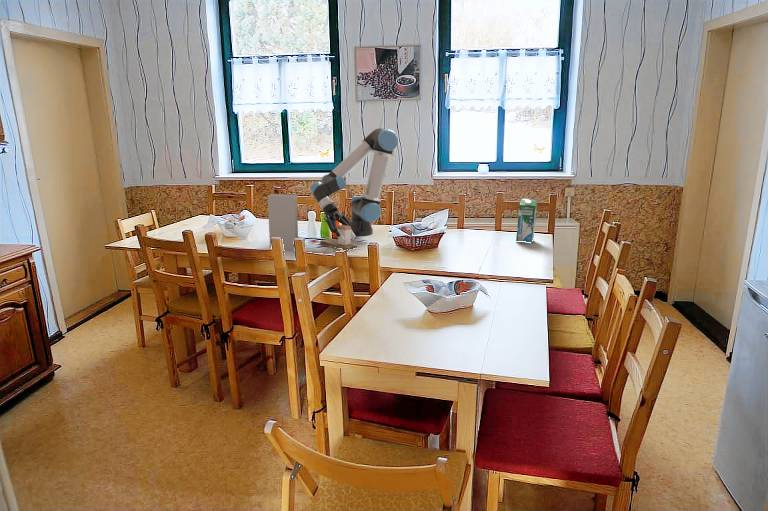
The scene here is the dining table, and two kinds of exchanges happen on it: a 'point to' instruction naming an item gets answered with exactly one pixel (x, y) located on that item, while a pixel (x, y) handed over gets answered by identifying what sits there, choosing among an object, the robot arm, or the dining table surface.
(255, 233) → the dining table surface
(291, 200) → the tall grey block
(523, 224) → the milk carton
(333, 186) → the robot arm
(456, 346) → the dining table surface
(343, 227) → the stub
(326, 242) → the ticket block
